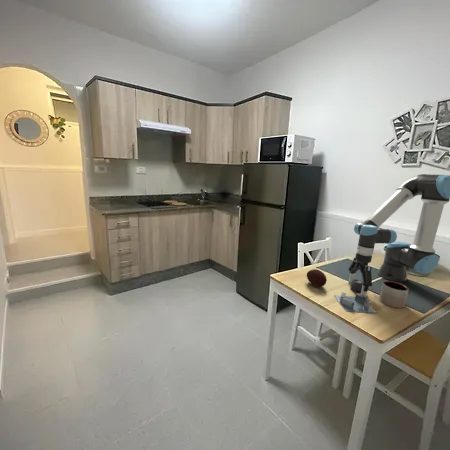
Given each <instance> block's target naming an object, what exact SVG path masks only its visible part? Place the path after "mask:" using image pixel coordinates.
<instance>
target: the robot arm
mask: <svg viewBox="0 0 450 450" xmlns="http://www.w3.org/2000/svg"><path fill="white" fill-rule="evenodd" d="M416 196H420V197H421V198H420V199H421V201H422V202H423V204H422V208H421V211H420V215H419V219H418V223H417V227H416V231H415V235H414V240H413V242H412V244H411V243H408V242H403V241H397V240H398V239H397V237H398V236H397V232H396V231H395V230H394V229H389V228H387V229H385V228H381V226H382V225H383V224H384V223H385V222H386V221H387V220H388V219H389V218H390V217H392V215H394V214H395V213H396V212H397V211H398V210H399V209H400V208H401V207H402V206H403V205H405V203H407V202H408V201H409V200H412V199H413V198H414V197H416ZM448 203H450V175H449V174H430V173H429V174H427V173H426V174H424V173H422V174H417V175H415V176H413V177H410V178H409V179H407V180H405V181H404V182H403V183H401V184H400V186H398V187H397V188H396V191H395V192H394V193H393V194H392V195H391V196H390V197H388V199H387V200H386V201H385V202H383V204H382V205H380V206H379V207H378V208H377V209H376V210H375V211H374V212H373V213H372V214H371V215H369V217H367V219H365V221H363V222H362V221H361V222H357V223H356V224H355V225H354V227H353V231H354V233H356V235H359V237H358V243H357V246H356V253H355V257H353V259H352V262H351V263H350V266H349V267H348V271H349V278H348V285H351V284H352V280H356V273H357V271H360V273H361V276H362V281H363V282H364V284H363V285H362V290H361V293H360V294H361V295H363V296H365V297H367V296H368V295H367V294H368V292H369V291H368V290H369V287H373V277H372V266H369V263H371V262H372V259H373V255H374V249H375V244H386V245H387V246H386V248H385V254H384V257H383V262H382V264H381V265H380V267H379V268H378V269H377V270H378V271H377V275H378V276H380V277H381V278H383V279H386V280H387V281H394V282H398V283H403V282H406V281H407V272H406V271H407V270H406V268H408V269H411V270H412V271H415V272H416V273H417V272H418V273H420V274H429V273H432V271H434V270H435V269H436V268H437V266H438V265H439V258H438V256H437V255H435V253H436V250H435V249H434V245H435V244H434V243H435V239H436V236H437V233H438V228H439V226H440V221H441V218H442V215H443V210H444V207H445V205H446V204H448Z"/></svg>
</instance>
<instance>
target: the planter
mask: <svg viewBox="0 0 450 450" xmlns="http://www.w3.org/2000/svg"><path fill="white" fill-rule="evenodd" d="M409 289H410V288H409V287H408V286H407V285H405V284H403V283H402V282H397V281H392V280H385V281H382V285H381V289H380V293H379V300H380V301H381V302H382V303H383V304H385V305H386V306H389V307H392V308H395V309H396V308H397V309H401V308H404V307H406V302H407V298H408V295H409Z"/></svg>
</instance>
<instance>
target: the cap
mask: <svg viewBox="0 0 450 450" xmlns="http://www.w3.org/2000/svg"><path fill="white" fill-rule="evenodd" d="M363 284H364V282H363V280H359V279H354V280H352V284H350V290H351V291H352V292H354V293H355V294H357V293H359V294H361V290H362V285H363Z"/></svg>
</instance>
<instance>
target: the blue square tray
mask: <svg viewBox="0 0 450 450" xmlns="http://www.w3.org/2000/svg"><path fill="white" fill-rule="evenodd" d="M340 294H341V295H335V294H334V295H333V296H334V298H335V300H337V301H338V302H339V303H338V304H340V306H341V307H342V308H343V310H345V312H348V313H349V312H354V313H366V314H377V311H376V310H374V309H373V307H372V306H370V301H371V300H370V299H368V297H367V296H366V297H365V296H363V295H361V293H355V296H350V295H347V293H346V292H341V293H340Z"/></svg>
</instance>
